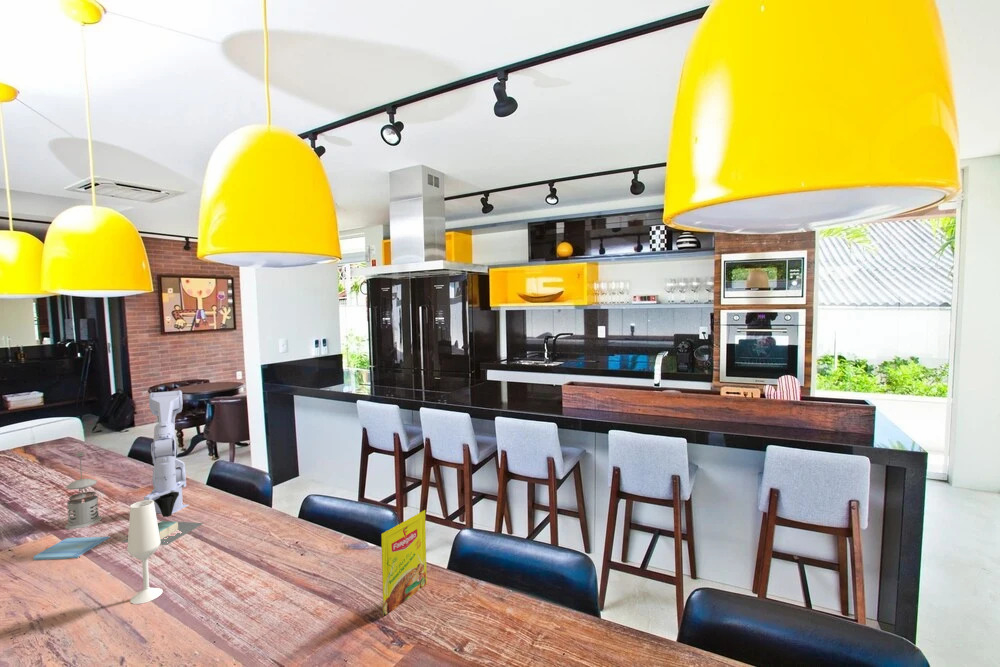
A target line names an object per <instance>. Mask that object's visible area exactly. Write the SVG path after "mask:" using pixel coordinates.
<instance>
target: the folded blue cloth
mask: <svg viewBox="0 0 1000 667" xmlns="http://www.w3.org/2000/svg"><path fill="white" fill-rule="evenodd" d="M110 538H111V536H94V537H93V536H92V537H91V536H90V537H87V536H86V537H85V536H84V537H66V538H64V539H62V540H61V541H59V542H57V543H55V544H54V545H51V546H49V547H48V548H46V549H44V550H42V551H41V552H39V553H37V554H35V555H33V558H32V559H33V561H39V560H42V561H43V560H44V561H45V560H67V559H68V558H76V559H79V558H81V557H80V556H81V555H83V554H85V553H87V552H88V551H90V550H92V549H93V548H95V547H96V546H98V545H100V544H102V543H103V542H106V541H107V540H108V539H110ZM78 557H79V558H78ZM68 560H69V559H68Z"/></svg>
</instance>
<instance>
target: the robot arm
mask: <svg viewBox="0 0 1000 667" xmlns="http://www.w3.org/2000/svg"><path fill="white" fill-rule="evenodd" d="M148 403H149V404H148V405H149V406H148V407H149V409H150V412H151V415H153V416H157V417H158V418H157V419H158V423H156V425H155V426H154V430H153V442H151V445H150V446H151V447H150V448H151V449H150V451H151V454H150V455H151V458H152V464H153V469H152V486H153V489H152V490H151V492H150V493H149V494H147V495H145V496H144V497H143V501H144V500H153V501H154V505H155V511H156V514H161V515H162V517H165V518H166V517H167V518H169V517H171V516H172V514H174V513H177V512H179V511H181V510H183V509H185V508H187V507H188V506H189V504H186V503H185V504H183V503H184V502H183V500H184V499H183V488H186V487H187V475H186V473H187V472H186V471H187V470H186V464H185V462H184V461H183V460H181V459H179V458H177V441H176V429H175V426H176V425H175V424H176V422H175V420H176V417H177V414H179V413H182V410H183V404H184V403H183V391H182V390H181V389H178V390H170V391H169V390H168V391H158V392H150V393H149V395H148Z"/></svg>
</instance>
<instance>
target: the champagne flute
mask: <svg viewBox="0 0 1000 667" xmlns="http://www.w3.org/2000/svg"><path fill="white" fill-rule="evenodd" d="M129 508H130V509H129V520H128V521H129V523H128V533H127V534H128V535H127V539H128V543H127V553H128V554H129V555H130V556H131V557H133V558H135V559H137V560H141V564H142V583H143V584H142V585H143V587H142V588H143V589H141V590H140V591H139V592H137V593H136V594H135V595H133V596H132V597H131V598H130V600H129V602H130V604H134V605H139V604H145V603H149V602H151V601H153V600H156V598H159V596H161V595H162V594H163V592H164V591H163V589H162V588H161V587H160V588H158V587H150V576H149V575H150V574H149V558H150V557H152V555H154V553H156V552H157V550H158V549H159V547H160V546H161V545H160V543H161V541H160V535H159V529H158V523H159V522H158V519H157V517H158V516H157V513H156V511H155V505H154V501H153V500H144V499H143V500H141V501H137V502H134V503H132V504H130V506H129Z"/></svg>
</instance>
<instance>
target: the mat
mask: <svg viewBox="0 0 1000 667" xmlns="http://www.w3.org/2000/svg"><path fill="white" fill-rule="evenodd" d="M167 521H168V520H167ZM168 522H173V521H168ZM177 522H178V530H179V531H181V532H182V533H181V534H180V533H177V534H176V535H175V536H169V537H168V538H167V536H166V537H164V538H167V539H164V538H163V539H161V540H160V541H161V543H160V546H168V545H170V544H171V543H173V542H175V541H176V540H178V539H180V538H181V537H184V536H185V535H186V534H188V533H189V532H192V531H193V530H195V529H197V528H198V527H200V526H201V525H203V524H205V523H204V522H191V521H190V522H187V521H177ZM164 541H165V542H164ZM167 542H168V543H167ZM122 543H127V544H128V538H127V539H125V540H123V541H122Z"/></svg>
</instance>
